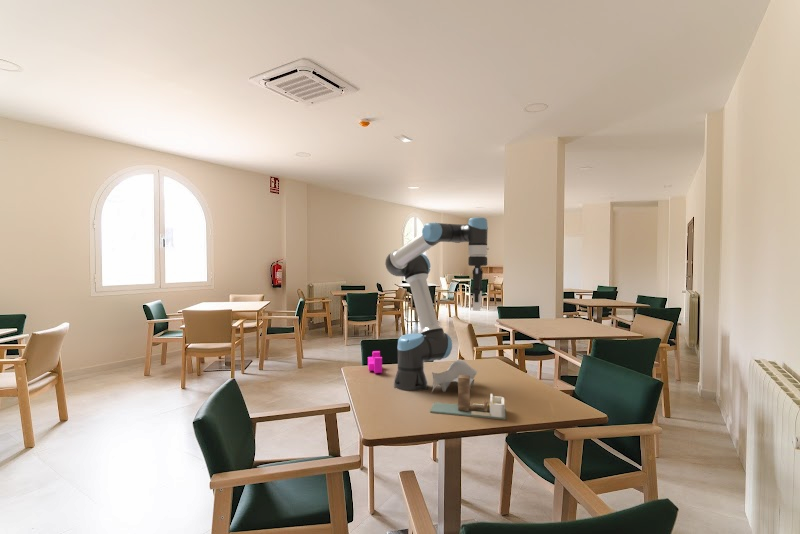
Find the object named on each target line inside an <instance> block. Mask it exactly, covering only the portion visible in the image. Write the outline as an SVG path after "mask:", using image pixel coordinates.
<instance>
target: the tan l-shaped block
mask: <svg viewBox="0 0 800 534" xmlns="http://www.w3.org/2000/svg"><path fill="white" fill-rule="evenodd" d="M470 402H471V388H470V376H469V375H459V377H458V386H457V405H458V410H462V411H469V410H480V411H484V412H486V413H487V408H488V405H489V403H488V402H489V401H488V399H486V398H485V399H484V403H483V404H484V407H479V406H473V405H471V403H470Z"/></svg>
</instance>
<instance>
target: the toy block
mask: <svg viewBox="0 0 800 534" xmlns="http://www.w3.org/2000/svg"><path fill="white" fill-rule="evenodd" d="M367 368H368V371H369V372H372V371H373V372H374V374H383V357H382V356H381V351H380V350H373V351H372V356H368V357H367Z"/></svg>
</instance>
